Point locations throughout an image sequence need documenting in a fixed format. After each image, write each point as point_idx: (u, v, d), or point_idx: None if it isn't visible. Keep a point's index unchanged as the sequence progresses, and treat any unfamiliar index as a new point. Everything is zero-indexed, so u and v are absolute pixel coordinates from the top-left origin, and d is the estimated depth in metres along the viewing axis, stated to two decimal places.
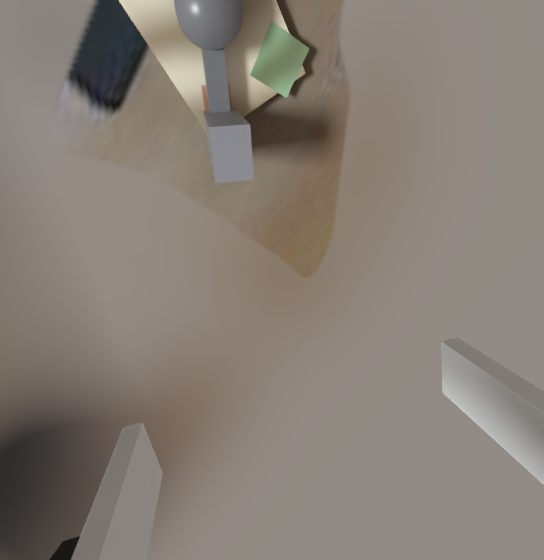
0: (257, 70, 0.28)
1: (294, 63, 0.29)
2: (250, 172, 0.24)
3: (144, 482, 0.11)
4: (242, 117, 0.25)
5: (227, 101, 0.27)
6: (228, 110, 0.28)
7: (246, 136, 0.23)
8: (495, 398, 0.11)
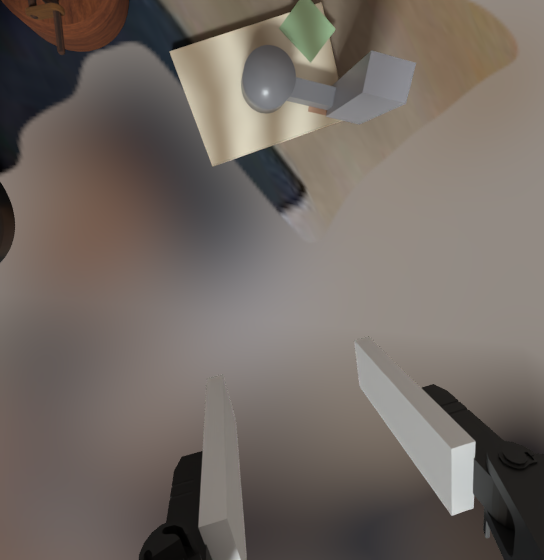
0: (309, 53, 0.32)
1: (311, 12, 0.31)
2: (408, 64, 0.25)
3: (230, 421, 0.13)
4: (353, 67, 0.27)
5: (328, 87, 0.31)
6: (335, 88, 0.31)
7: (379, 57, 0.25)
8: (385, 390, 0.12)
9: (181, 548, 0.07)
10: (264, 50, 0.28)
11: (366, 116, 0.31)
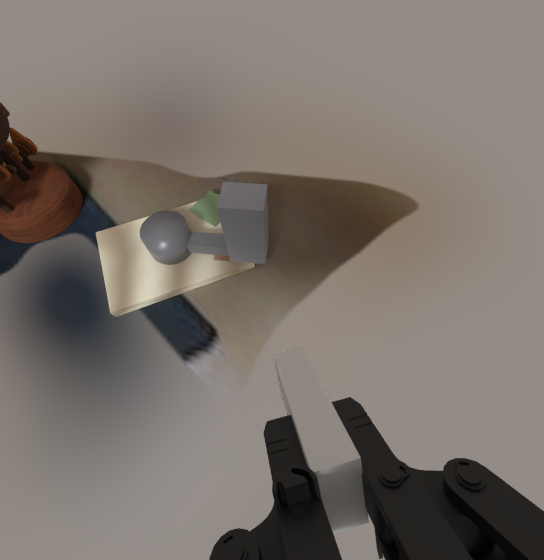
0: (213, 221, 0.37)
1: (215, 199, 0.39)
2: (260, 185, 0.27)
3: None
4: None
5: (224, 235, 0.34)
6: None
7: (231, 184, 0.27)
8: None
9: (307, 490, 0.08)
10: (160, 214, 0.33)
11: (257, 247, 0.31)
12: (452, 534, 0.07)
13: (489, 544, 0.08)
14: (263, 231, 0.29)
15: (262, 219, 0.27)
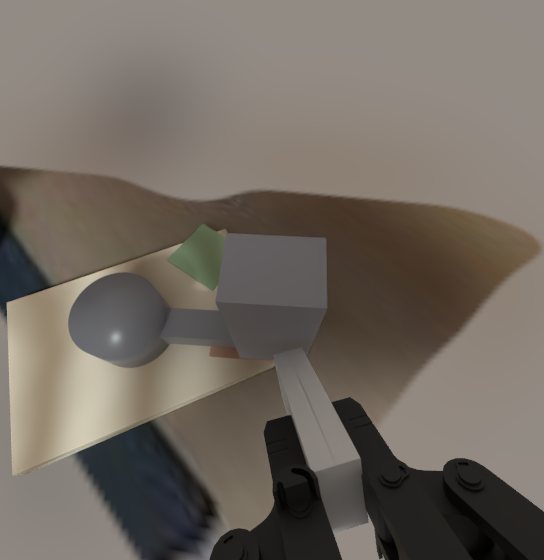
0: (209, 281, 0.22)
1: (212, 239, 0.23)
2: (311, 241, 0.12)
3: None
4: None
5: None
6: None
7: (244, 240, 0.12)
8: None
9: (307, 490, 0.08)
10: (110, 280, 0.18)
11: (295, 348, 0.16)
12: (452, 535, 0.07)
13: (489, 544, 0.08)
14: (315, 332, 0.13)
15: (319, 318, 0.12)
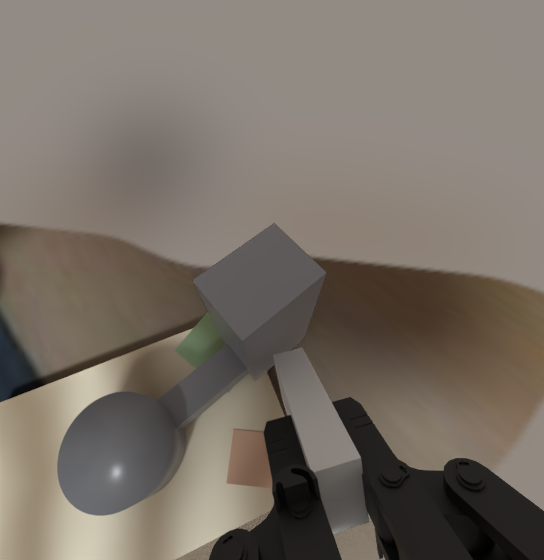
0: None
1: None
2: (266, 234, 0.12)
3: None
4: (209, 313, 0.14)
5: (217, 355, 0.17)
6: (227, 347, 0.18)
7: (214, 274, 0.11)
8: None
9: (307, 490, 0.08)
10: (78, 426, 0.15)
11: (299, 331, 0.16)
12: (453, 535, 0.07)
13: (489, 544, 0.08)
14: (315, 303, 0.14)
15: (319, 287, 0.12)
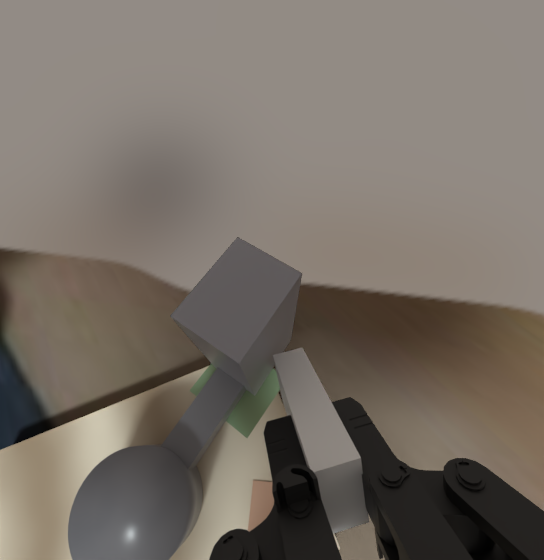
0: (243, 423, 0.18)
1: None
2: (233, 250, 0.12)
3: None
4: (193, 342, 0.14)
5: (211, 381, 0.17)
6: (219, 370, 0.17)
7: (191, 303, 0.11)
8: None
9: (307, 490, 0.08)
10: (82, 501, 0.13)
11: (286, 334, 0.16)
12: (452, 534, 0.07)
13: (489, 544, 0.08)
14: (296, 304, 0.14)
15: (297, 288, 0.13)
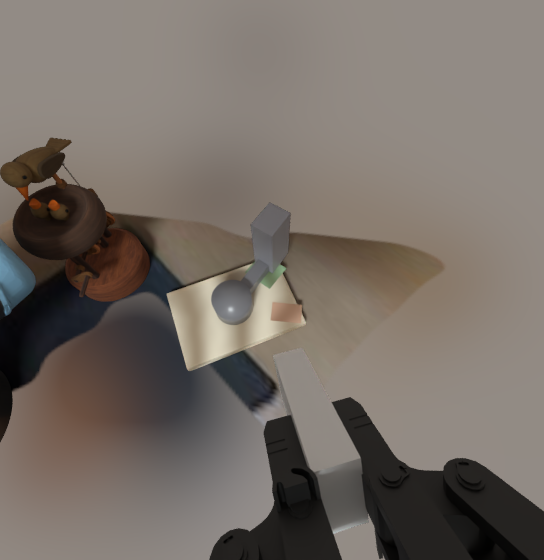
0: (267, 283, 0.43)
1: None
2: (268, 206, 0.37)
3: None
4: None
5: (255, 263, 0.42)
6: (258, 260, 0.42)
7: (256, 221, 0.36)
8: None
9: (307, 490, 0.08)
10: (214, 294, 0.38)
11: (285, 244, 0.41)
12: (452, 534, 0.07)
13: (489, 544, 0.08)
14: (289, 228, 0.39)
15: (289, 219, 0.38)
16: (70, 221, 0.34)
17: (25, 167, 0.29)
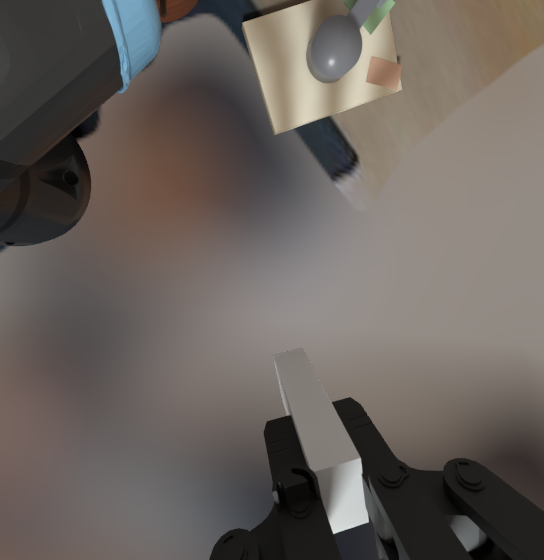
0: (369, 26, 0.34)
1: None
2: None
3: None
4: None
5: None
6: None
7: None
8: None
9: (307, 490, 0.08)
10: (319, 37, 0.30)
11: None
12: (452, 534, 0.07)
13: (489, 544, 0.08)
14: None
15: None
16: None
17: None
